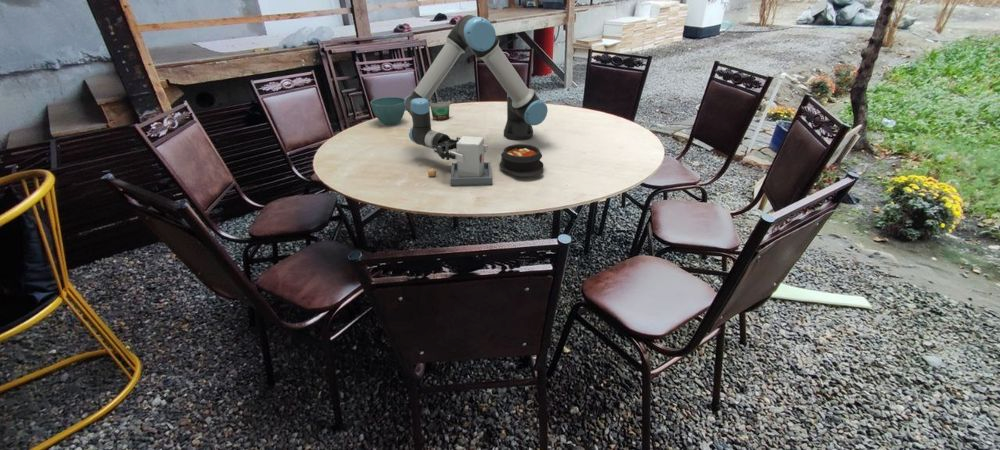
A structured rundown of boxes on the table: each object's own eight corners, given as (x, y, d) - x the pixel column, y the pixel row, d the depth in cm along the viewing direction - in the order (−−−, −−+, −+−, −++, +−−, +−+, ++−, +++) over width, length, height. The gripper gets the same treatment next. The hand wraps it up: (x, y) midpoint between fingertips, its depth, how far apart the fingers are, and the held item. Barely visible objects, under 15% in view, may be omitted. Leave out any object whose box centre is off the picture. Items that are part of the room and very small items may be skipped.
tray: (490, 168, 177) (490, 162, 176) (492, 185, 164) (492, 177, 162) (452, 169, 176) (452, 163, 175) (450, 186, 163) (450, 179, 161)
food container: (434, 122, 232) (432, 104, 227) (430, 119, 237) (428, 101, 232) (454, 119, 237) (453, 101, 232) (450, 116, 242) (449, 99, 236)
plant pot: (367, 126, 226) (363, 103, 220) (386, 117, 241) (383, 95, 235) (396, 130, 221) (393, 106, 215) (413, 120, 236) (411, 98, 229)
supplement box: (479, 181, 165) (478, 144, 157) (457, 179, 167) (455, 143, 159) (485, 172, 173) (484, 136, 165) (464, 170, 174) (462, 135, 167)
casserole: (553, 178, 169) (554, 158, 165) (509, 183, 165) (509, 164, 160) (531, 156, 190) (532, 138, 185) (492, 160, 185) (491, 142, 181)
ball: (436, 174, 172) (435, 167, 171) (435, 177, 170) (435, 170, 168) (428, 174, 172) (427, 167, 170) (427, 177, 169) (427, 170, 168)
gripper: (460, 142, 185) (496, 153, 173) (415, 158, 169) (452, 172, 157) (459, 125, 181) (496, 136, 169) (413, 140, 165) (450, 153, 153)
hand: (474, 153), depth 163 cm, fingers open, 13 cm apart
